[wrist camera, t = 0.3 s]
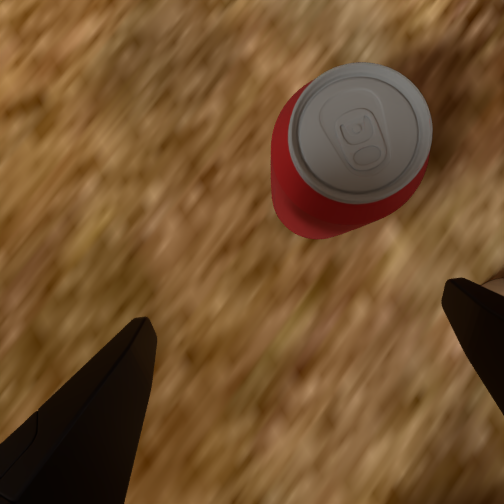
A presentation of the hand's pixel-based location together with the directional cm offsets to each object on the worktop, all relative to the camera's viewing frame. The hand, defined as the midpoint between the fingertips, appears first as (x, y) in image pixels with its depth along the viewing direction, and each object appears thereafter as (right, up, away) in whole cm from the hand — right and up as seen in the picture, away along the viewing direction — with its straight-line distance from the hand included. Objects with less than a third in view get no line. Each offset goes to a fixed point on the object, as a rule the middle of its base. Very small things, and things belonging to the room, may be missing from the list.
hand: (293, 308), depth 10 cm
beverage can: (+4, +6, +14) cm, 16 cm away
